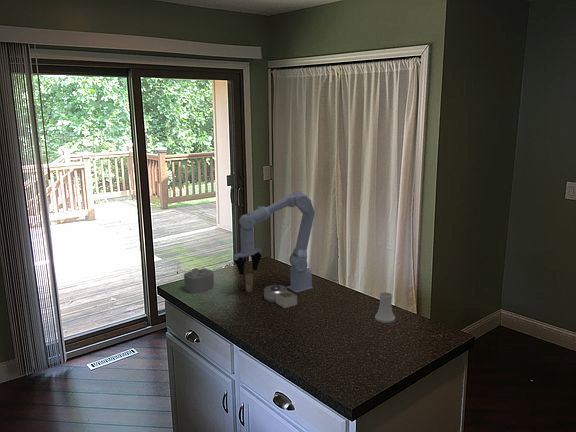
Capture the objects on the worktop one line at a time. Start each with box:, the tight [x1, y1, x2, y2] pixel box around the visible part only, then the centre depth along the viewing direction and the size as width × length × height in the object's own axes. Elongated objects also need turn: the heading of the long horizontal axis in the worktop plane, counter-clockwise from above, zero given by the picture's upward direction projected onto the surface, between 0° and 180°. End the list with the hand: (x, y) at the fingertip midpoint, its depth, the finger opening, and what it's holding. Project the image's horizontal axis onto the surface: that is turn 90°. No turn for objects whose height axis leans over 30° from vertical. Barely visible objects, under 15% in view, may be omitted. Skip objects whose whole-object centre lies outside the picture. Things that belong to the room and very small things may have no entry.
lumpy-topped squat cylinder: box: [183, 267, 215, 295], centre depth 217 cm, size 10×13×9 cm
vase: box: [374, 292, 396, 324], centre depth 182 cm, size 8×8×10 cm
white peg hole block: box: [263, 284, 298, 309], centre depth 201 cm, size 16×10×5 cm, turn 35°
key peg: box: [244, 272, 254, 293], centre depth 212 cm, size 3×3×8 cm
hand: (248, 272), depth 209 cm, fingers open, 7 cm apart
